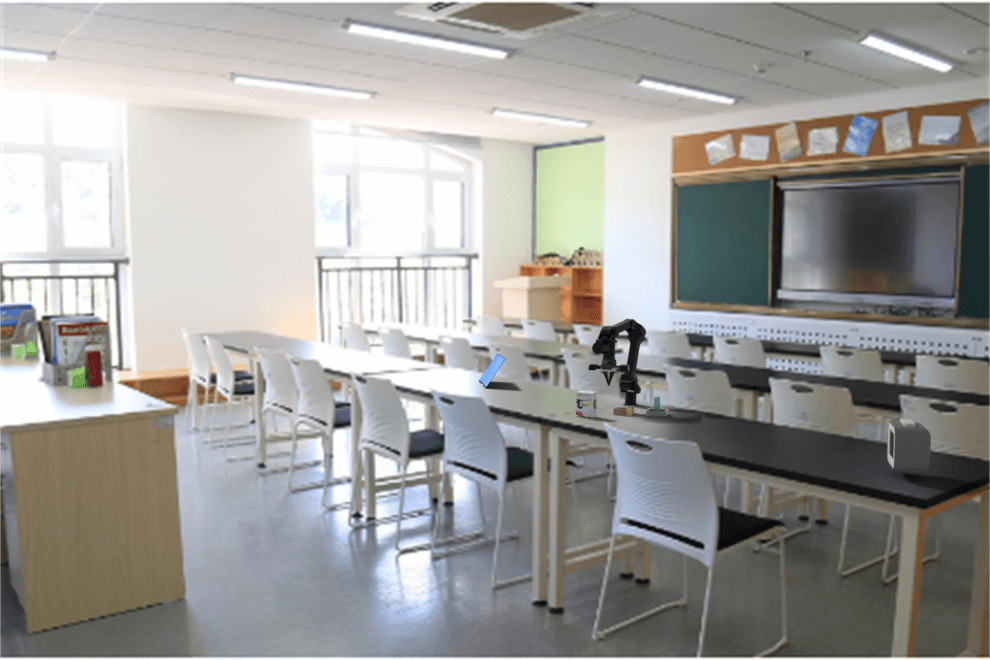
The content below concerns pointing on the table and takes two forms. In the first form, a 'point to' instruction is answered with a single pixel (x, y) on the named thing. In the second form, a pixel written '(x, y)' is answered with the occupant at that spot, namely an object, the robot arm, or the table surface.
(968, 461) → the table surface
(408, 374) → the table surface
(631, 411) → the block
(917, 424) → the alarm clock
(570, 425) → the table surface
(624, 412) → the walnut block
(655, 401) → the dowel
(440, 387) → the table surface
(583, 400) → the ink box
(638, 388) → the robot arm
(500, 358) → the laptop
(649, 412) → the tray
